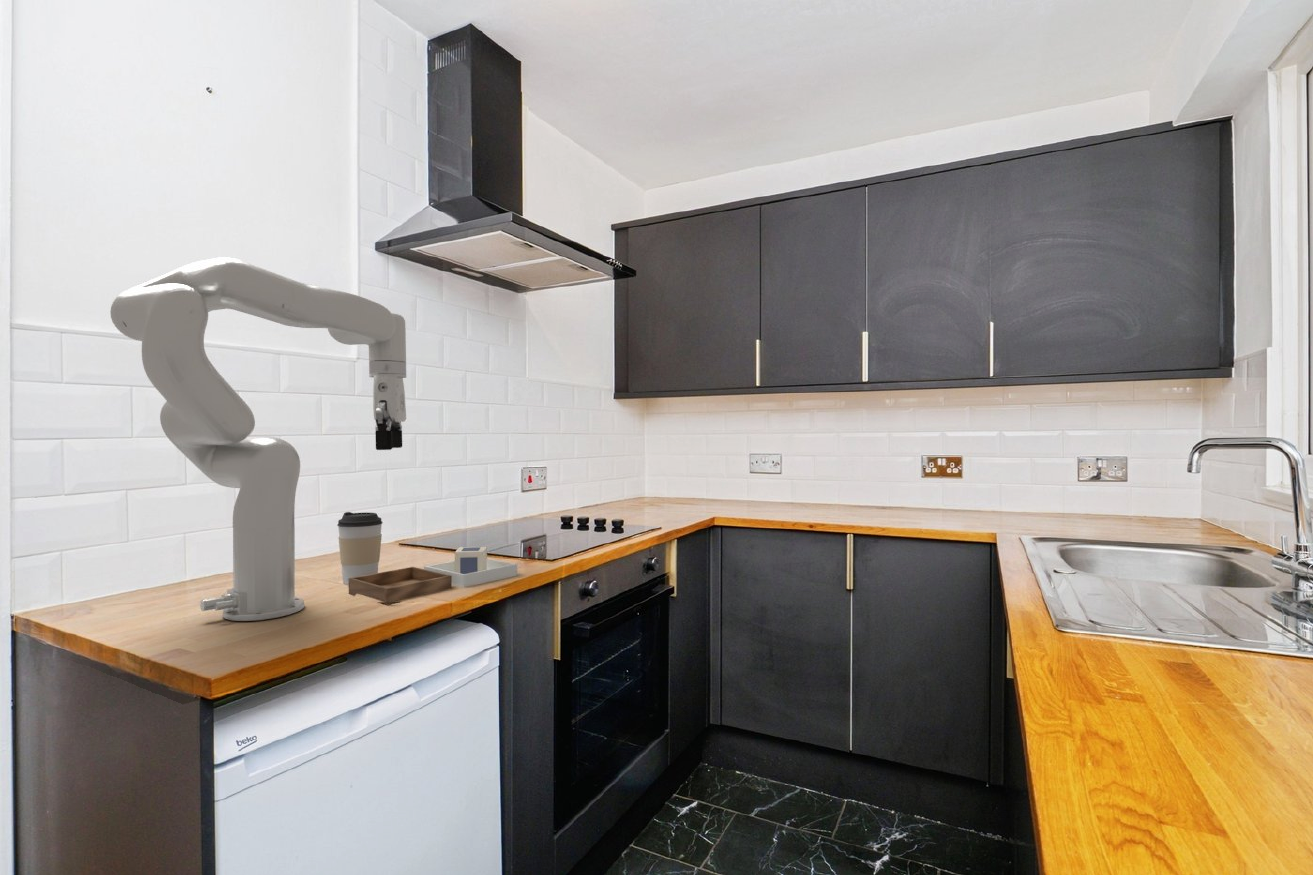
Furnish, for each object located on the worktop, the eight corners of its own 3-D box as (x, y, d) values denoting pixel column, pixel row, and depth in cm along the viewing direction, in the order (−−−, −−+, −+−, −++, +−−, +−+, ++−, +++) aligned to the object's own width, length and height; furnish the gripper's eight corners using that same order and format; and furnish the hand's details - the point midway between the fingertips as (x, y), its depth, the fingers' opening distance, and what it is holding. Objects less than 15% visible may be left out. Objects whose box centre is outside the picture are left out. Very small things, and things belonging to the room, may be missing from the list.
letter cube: (483, 579, 140) (483, 551, 140) (454, 579, 139) (454, 551, 139) (486, 573, 146) (486, 546, 146) (459, 573, 145) (459, 546, 145)
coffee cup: (390, 576, 145) (390, 510, 144) (368, 586, 136) (368, 515, 135) (352, 575, 145) (352, 509, 145) (328, 585, 136) (328, 514, 136)
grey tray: (463, 590, 133) (463, 575, 133) (424, 580, 141) (424, 566, 141) (517, 577, 144) (517, 564, 144) (477, 569, 152) (477, 556, 152)
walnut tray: (386, 605, 121) (386, 588, 121) (348, 593, 129) (348, 578, 129) (451, 590, 132) (451, 575, 132) (412, 580, 141) (412, 566, 141)
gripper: (397, 367, 133) (398, 450, 133) (413, 373, 150) (415, 446, 150) (358, 367, 132) (360, 451, 132) (379, 373, 149) (381, 447, 149)
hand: (389, 448), depth 141 cm, fingers open, 9 cm apart
